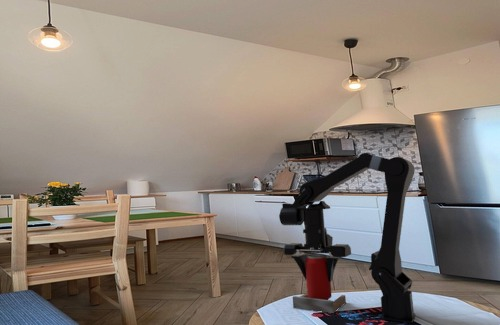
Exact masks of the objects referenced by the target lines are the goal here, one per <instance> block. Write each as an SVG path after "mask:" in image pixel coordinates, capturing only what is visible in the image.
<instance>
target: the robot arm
mask: <svg viewBox="0 0 500 325" xmlns="http://www.w3.org/2000/svg"><path fill="white" fill-rule="evenodd" d="M369 170H374V171H377V172H381V173H384V182H385V187H386V193H387V194H386V200H385V201H386V203H385V209H384V210H385V211H384V218H383V228H382V234H381V235H382V236H381V243H380V248H379V250H377V251H375V252H373V253H370V254H371V255H370V260H371V263H370V267H369V268H368V270H369V271H370V273H371V279H373V280H374V282H375V283H376V284H377V285H378V287H379V290H380V291H381V294H382V295H381V297H380V305H381V313H382V315H383V316H382V319H383V320H387V321H392V322H400V323H407V324H412V323H413V322H414V320H415V317H416V316H417V315H416V313H415V311H414V302H413V301H414V300H413V292H412V290H410V289H411V288H412V284H413V279H411V278H410V276H408V275H407V274H406V273H405V272H403V270H402V269H403V266H402V257H401V254H400V252H401V251H400V244H401V242H400V241H401V235H402V227H403V219H404V210H405V202H406V195H407V193H408V191H409V189H410V186H411V184H412V181H413V179H414V174H415V171H416V169H415V166H414V163H413V162H412V161H411V160H408V159H406V158H403V157H401V156H395V157H391V158H386V157H382V156H378V155H374V154H370V153H367V152H363V153H361V154H359V156H357V157H355V158H354V159H352V160H350V161H348V162H347V163H345V164H344V165H342V166H340V167H338V168H336V169H335V170H332V172H329V173H328V174H327V175H325V176H322V177H319V178H314V179H311V180H309V181H306V182H304V183H302V184H301V185H300V186H299V192H298V194H297V196H296V198H295V199H294V200H293V203H285V202H284V203H282V204H281V205H282V207H281V208H280V212H279V216H278V217H279V222H280V223H281V225H282V226H302V225H303V224H304V229H302V233H303V234H304V238H305V239H304V241H305V243H304V244H303V243H297V242H296V243H295V242H294V243H292V242H291V243H289V244H288V243H287V244H285V245H284V247H283V255H286V256H290V257H291V259H294V261H295V263H296V264H297V266H298V268H299V270H300V272H301V274H302V275H303V277H304V279H305V280H306V265H305V261H306V259H307V256H308V255H309V254H310V253H311V254H328V255H329V256H328V257H327V256H326V257H327V258H326V259H327V271H328V279H329V282H331V283H332V282H333V281H332V280H333V277H334V273H335V269H336V266H337V263H338V261H339V260H340V259H342V258H346V257H348V256H350V255H351V256H352V249H351V246H350V245H349V244H347V243H343V244H341V243H339V244H338V243H336V244H334V245H333V238H334V237H333V236H332V235H330V234H328V230H327V228H326V227H325V219H324V217H325V216H324V210H329V209H331V206H330V205H329V204H327V203H326V202H325V201H324V200H323V199H325V198H326V197H327V196H329V194H330V193H331V192H332V191H333V190H334V189H335V188H337V187H339V186H340V185H343V184H344V183H346V182H348V181H350V180H352V179H353V178H355V177H357V176H359V175H361V174H362V173H364V172H366V171H369ZM316 202H318V203H316ZM307 206H308V207H307ZM308 253H309V254H308Z"/></svg>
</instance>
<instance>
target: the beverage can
mask: <svg viewBox="0 0 500 325" xmlns="http://www.w3.org/2000/svg"><path fill="white" fill-rule="evenodd" d="M326 258H327V255H326V254H323V253H312V254H308V255H307V259H306V261H305V265H306V281H305V282H306V291H307V292H306V293H307V294H308V297H309V298H315V299H323V300H330V299H331V298H332V297H333V296H332V295H333V294H332V285H331V284H332V281H331V282H329V279H328V271H327V259H326Z"/></svg>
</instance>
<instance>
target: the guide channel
mask: <svg viewBox="0 0 500 325" xmlns="http://www.w3.org/2000/svg"><path fill="white" fill-rule="evenodd" d="M346 303H347V299H346V295H345V294H342V295H340V296H338V297H337V298H336V299H335V300H331V299H328V300H323V299H315V298H309V297H308V294H307V292H304V294H302V295H300V296H298V295H294V296H292V308H293V309H296V310H297V309H298V310H303V311H304V310H305V311H310V310H313V311H312V312H317V311H322V312H321V313H324V312H328V313H327V314H331V313H333V314H334V313H336V312H337V311H338V310H339V309H340V308H341V307H343V306H344V305H345V304H346ZM343 304H344V305H343ZM342 305H343V306H342ZM338 308H339V309H338ZM337 309H338V310H337ZM336 310H337V311H336Z"/></svg>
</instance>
